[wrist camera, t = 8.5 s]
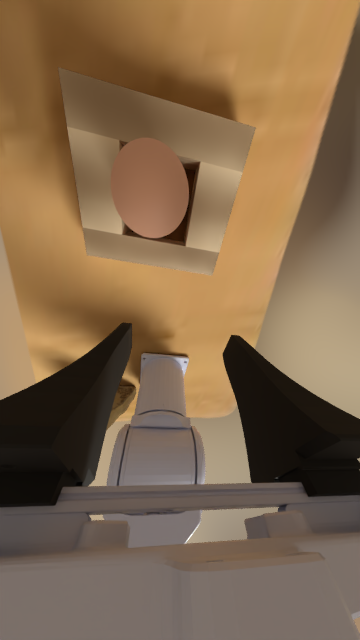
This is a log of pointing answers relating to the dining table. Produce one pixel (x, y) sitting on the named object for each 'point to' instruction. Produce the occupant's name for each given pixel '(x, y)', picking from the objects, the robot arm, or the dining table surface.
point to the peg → (149, 187)
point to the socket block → (184, 140)
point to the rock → (121, 402)
